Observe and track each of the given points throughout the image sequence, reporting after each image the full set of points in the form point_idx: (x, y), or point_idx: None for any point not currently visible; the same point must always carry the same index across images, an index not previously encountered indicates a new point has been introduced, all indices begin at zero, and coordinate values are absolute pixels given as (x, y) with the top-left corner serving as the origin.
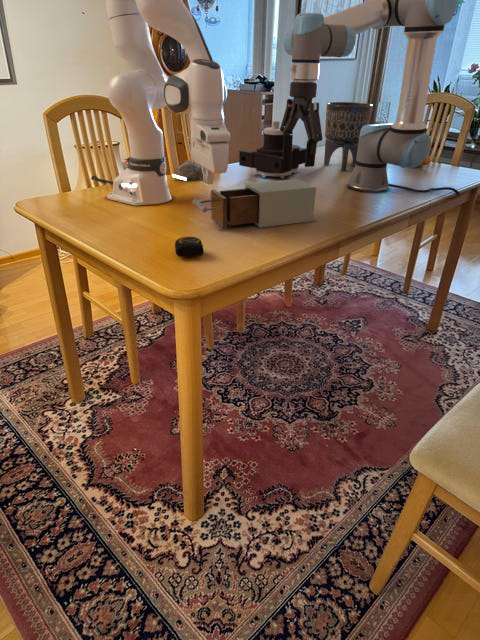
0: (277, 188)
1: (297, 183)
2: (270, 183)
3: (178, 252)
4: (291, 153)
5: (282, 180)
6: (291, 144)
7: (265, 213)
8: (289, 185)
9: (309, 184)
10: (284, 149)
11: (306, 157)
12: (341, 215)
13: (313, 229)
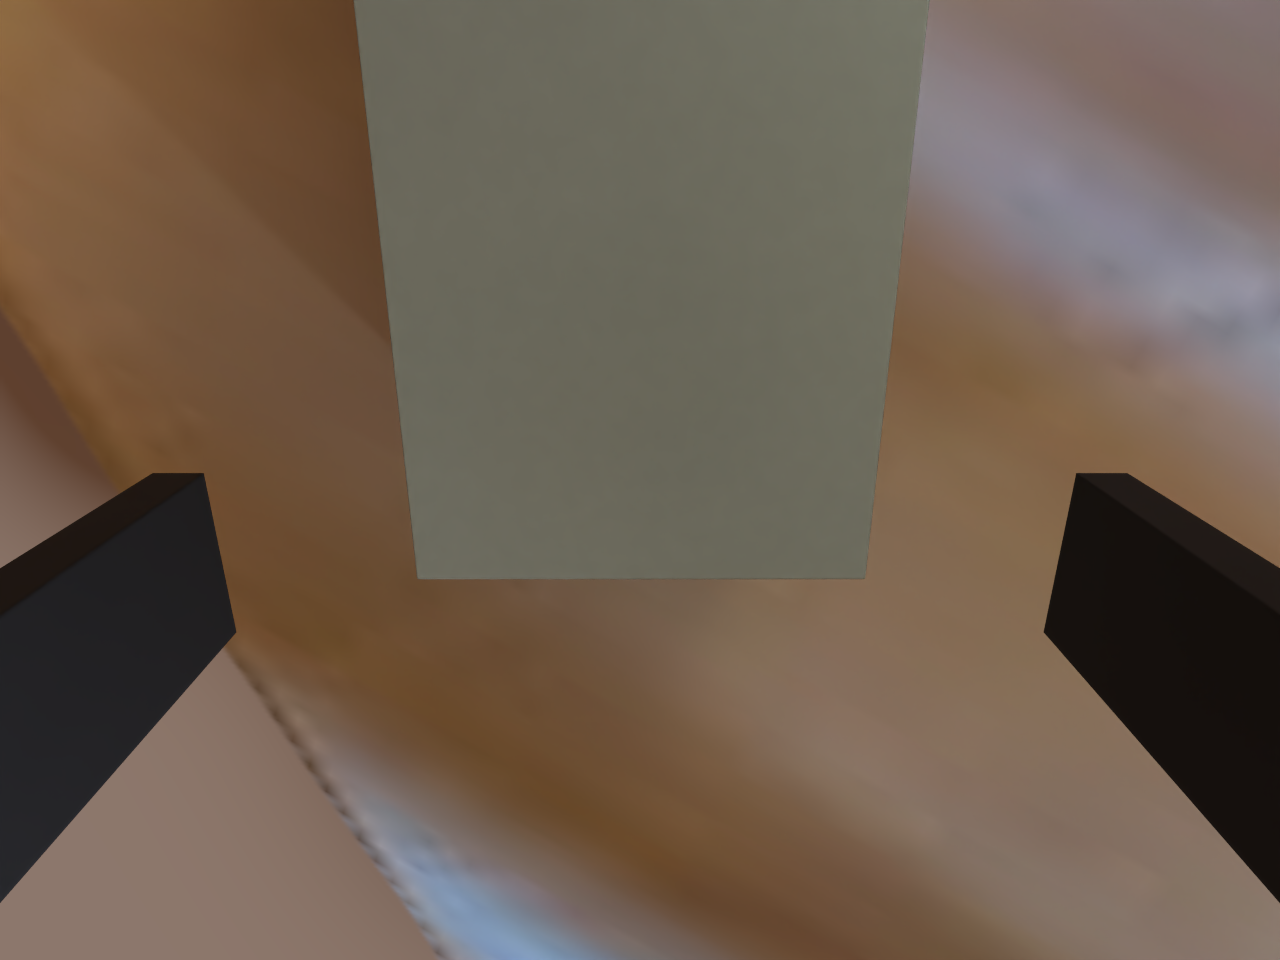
0: (480, 37)
1: (653, 459)
2: (794, 81)
3: None
4: (1083, 676)
5: (879, 349)
6: (1206, 794)
7: None
8: (587, 303)
9: (559, 571)
10: (1177, 557)
11: (51, 549)
12: (556, 715)
13: (287, 339)
